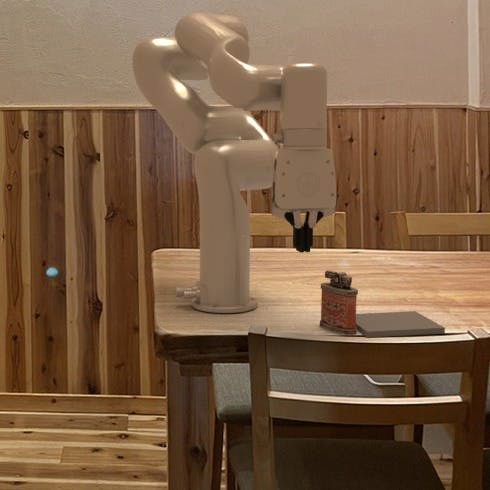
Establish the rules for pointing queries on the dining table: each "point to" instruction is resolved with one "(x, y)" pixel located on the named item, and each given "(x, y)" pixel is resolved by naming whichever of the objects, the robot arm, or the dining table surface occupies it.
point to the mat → (396, 324)
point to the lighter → (338, 304)
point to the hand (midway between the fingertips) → (302, 250)
